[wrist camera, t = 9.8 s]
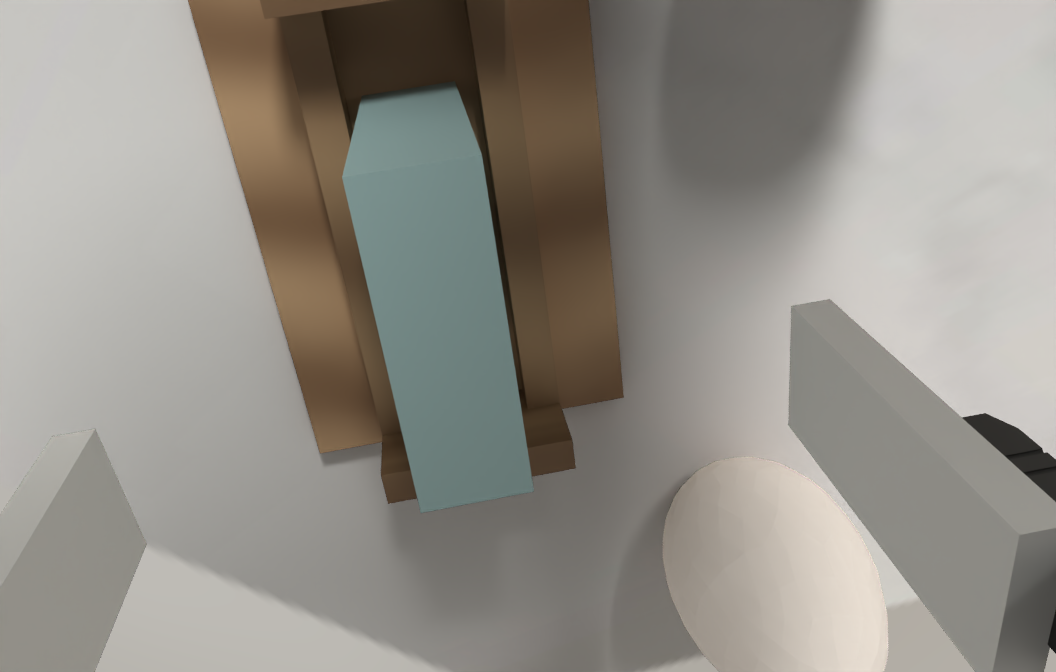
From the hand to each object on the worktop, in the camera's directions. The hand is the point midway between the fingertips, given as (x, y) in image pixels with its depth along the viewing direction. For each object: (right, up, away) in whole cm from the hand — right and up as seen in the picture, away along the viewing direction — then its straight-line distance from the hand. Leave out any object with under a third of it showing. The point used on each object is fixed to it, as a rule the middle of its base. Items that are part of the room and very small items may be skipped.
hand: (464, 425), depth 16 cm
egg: (+10, -5, +21) cm, 23 cm away
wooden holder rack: (-2, +6, +14) cm, 15 cm away
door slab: (-2, +6, +13) cm, 14 cm away
